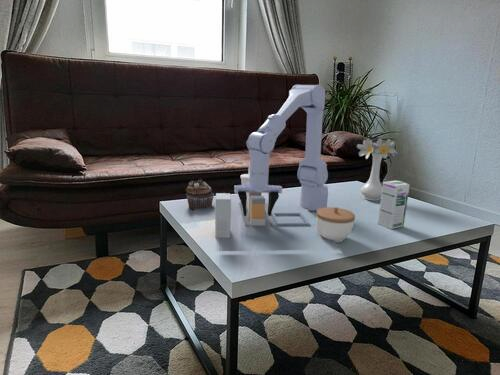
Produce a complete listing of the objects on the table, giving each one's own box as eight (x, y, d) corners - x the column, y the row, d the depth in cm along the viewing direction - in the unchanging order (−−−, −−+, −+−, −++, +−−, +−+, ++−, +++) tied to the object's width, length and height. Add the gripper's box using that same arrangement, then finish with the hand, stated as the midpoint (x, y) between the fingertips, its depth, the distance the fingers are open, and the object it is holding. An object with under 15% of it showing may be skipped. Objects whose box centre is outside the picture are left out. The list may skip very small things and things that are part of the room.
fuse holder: (260, 205, 128) (260, 198, 127) (270, 228, 106) (271, 219, 105) (238, 205, 127) (239, 197, 126) (245, 228, 105) (245, 220, 104)
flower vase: (365, 191, 153) (372, 134, 147) (399, 203, 137) (409, 140, 131) (342, 194, 147) (349, 135, 141) (375, 206, 131) (384, 141, 125)
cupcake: (198, 213, 116) (198, 184, 113) (180, 206, 122) (180, 179, 120) (219, 207, 123) (219, 180, 120) (201, 201, 129) (202, 175, 127)
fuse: (258, 211, 118) (259, 189, 116) (260, 215, 114) (261, 192, 112) (247, 211, 118) (247, 189, 115) (248, 215, 114) (249, 192, 112)
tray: (300, 216, 117) (301, 212, 117) (309, 227, 107) (309, 223, 107) (271, 216, 116) (271, 212, 116) (276, 228, 106) (277, 223, 106)
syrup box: (391, 229, 109) (398, 185, 105) (376, 223, 114) (383, 180, 110) (403, 227, 111) (410, 183, 108) (389, 221, 116) (395, 179, 113)
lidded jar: (328, 248, 94) (332, 215, 91) (307, 233, 103) (309, 203, 101) (359, 243, 98) (364, 211, 95) (336, 229, 107) (339, 200, 105)
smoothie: (256, 198, 136) (258, 163, 133) (255, 203, 130) (257, 166, 126) (240, 197, 137) (241, 162, 133) (238, 201, 131) (239, 165, 127)
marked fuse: (262, 219, 110) (263, 195, 108) (263, 224, 106) (265, 199, 104) (249, 219, 110) (250, 195, 108) (251, 224, 106) (252, 199, 104)
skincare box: (215, 232, 101) (215, 192, 98) (229, 232, 102) (230, 193, 98) (214, 240, 95) (215, 199, 92) (230, 240, 96) (231, 199, 93)
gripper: (236, 174, 99) (234, 219, 103) (285, 175, 101) (282, 219, 105) (234, 169, 106) (233, 211, 110) (280, 170, 108) (277, 211, 111)
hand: (257, 214), depth 108 cm, fingers open, 7 cm apart
